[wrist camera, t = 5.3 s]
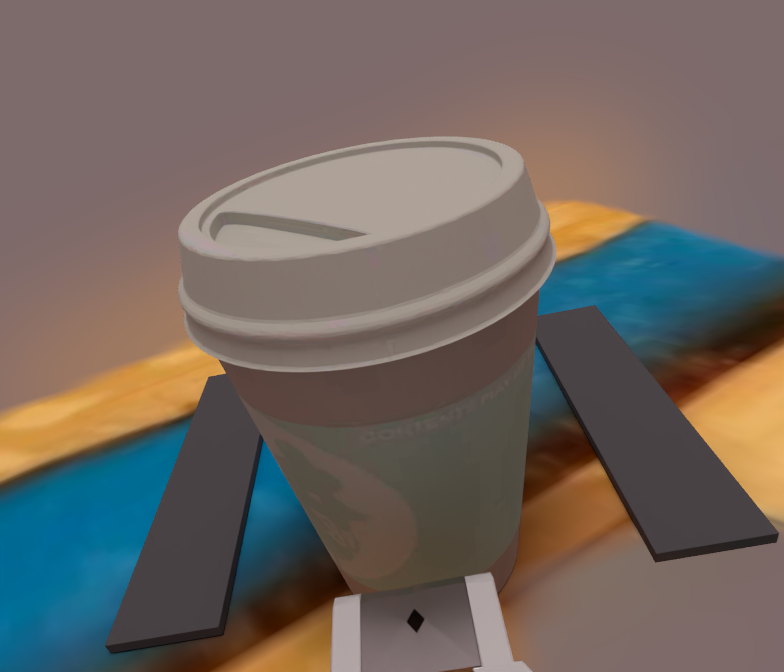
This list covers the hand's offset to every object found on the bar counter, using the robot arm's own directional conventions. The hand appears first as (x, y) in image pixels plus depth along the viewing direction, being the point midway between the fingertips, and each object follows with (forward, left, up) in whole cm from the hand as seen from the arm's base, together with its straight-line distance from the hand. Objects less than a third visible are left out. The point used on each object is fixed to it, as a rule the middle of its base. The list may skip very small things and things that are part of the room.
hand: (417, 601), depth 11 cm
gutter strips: (+8, +7, -6) cm, 12 cm away
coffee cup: (+4, +4, -6) cm, 8 cm away
